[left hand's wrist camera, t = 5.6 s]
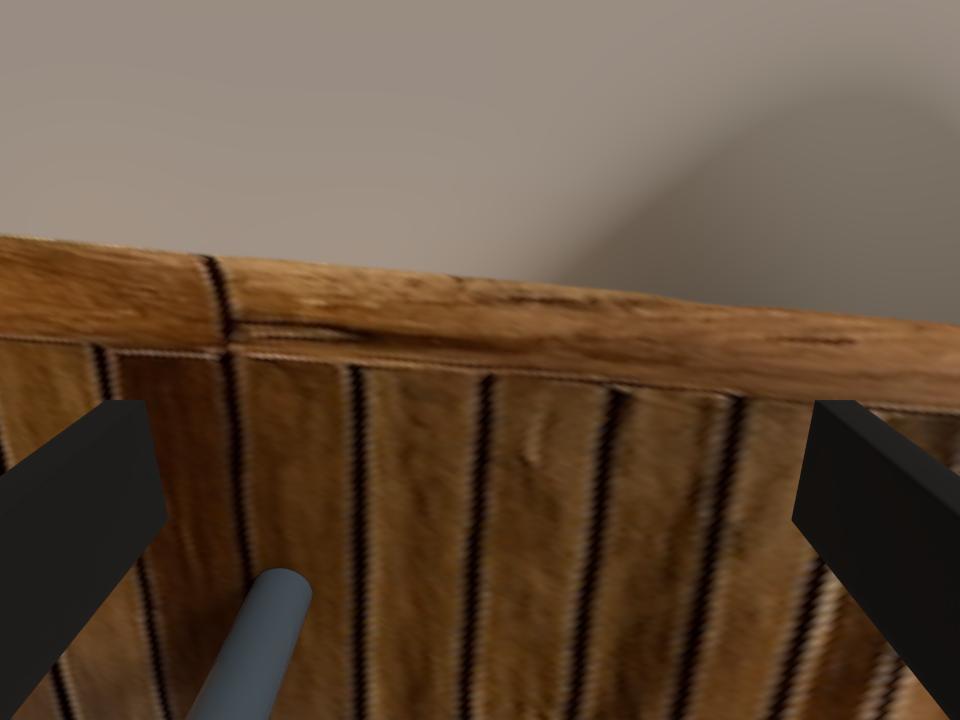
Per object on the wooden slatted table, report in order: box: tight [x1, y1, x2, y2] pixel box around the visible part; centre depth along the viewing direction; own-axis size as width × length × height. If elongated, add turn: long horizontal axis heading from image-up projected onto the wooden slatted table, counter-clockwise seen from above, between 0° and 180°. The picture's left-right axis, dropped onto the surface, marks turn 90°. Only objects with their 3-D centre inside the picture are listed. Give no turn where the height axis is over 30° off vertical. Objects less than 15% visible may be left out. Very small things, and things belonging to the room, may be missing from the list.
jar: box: [185, 568, 312, 720], centre depth 41 cm, size 5×5×16 cm
